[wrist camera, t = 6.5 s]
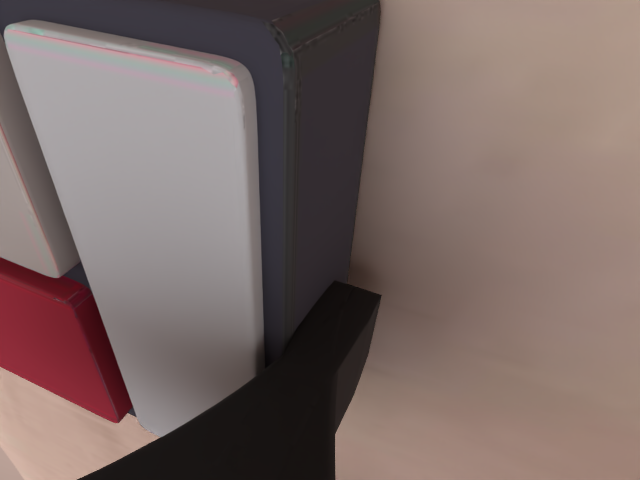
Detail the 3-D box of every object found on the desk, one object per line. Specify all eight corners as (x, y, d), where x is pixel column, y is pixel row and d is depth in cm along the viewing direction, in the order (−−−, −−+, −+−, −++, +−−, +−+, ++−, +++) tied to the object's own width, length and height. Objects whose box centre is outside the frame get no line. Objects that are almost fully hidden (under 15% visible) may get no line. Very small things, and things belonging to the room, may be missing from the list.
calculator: (-463, -90, 8) (257, 41, 4) (-180, -93, 12) (387, -20, 7) (-130, 317, 15) (271, 522, 11) (-10, 245, 18) (336, 382, 14)
